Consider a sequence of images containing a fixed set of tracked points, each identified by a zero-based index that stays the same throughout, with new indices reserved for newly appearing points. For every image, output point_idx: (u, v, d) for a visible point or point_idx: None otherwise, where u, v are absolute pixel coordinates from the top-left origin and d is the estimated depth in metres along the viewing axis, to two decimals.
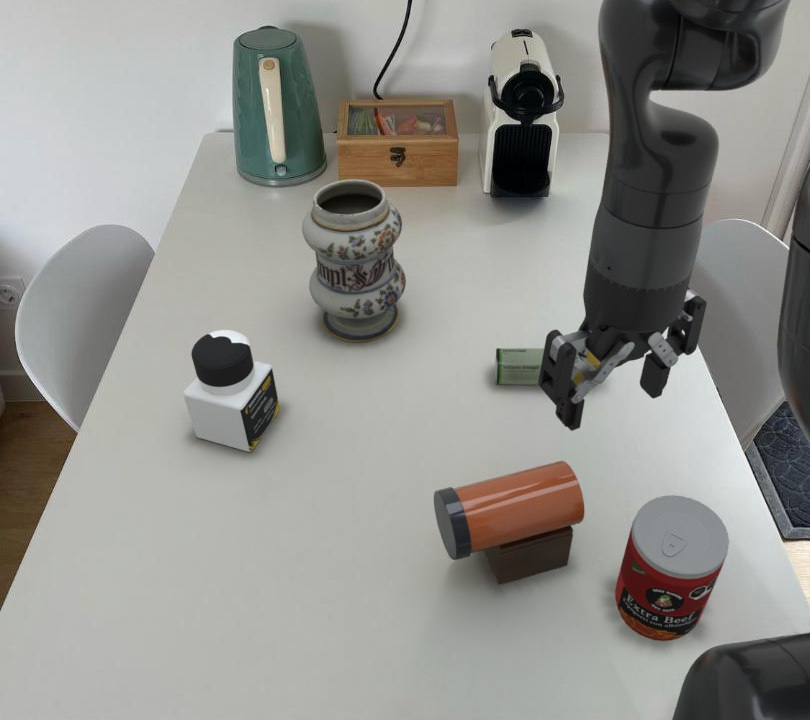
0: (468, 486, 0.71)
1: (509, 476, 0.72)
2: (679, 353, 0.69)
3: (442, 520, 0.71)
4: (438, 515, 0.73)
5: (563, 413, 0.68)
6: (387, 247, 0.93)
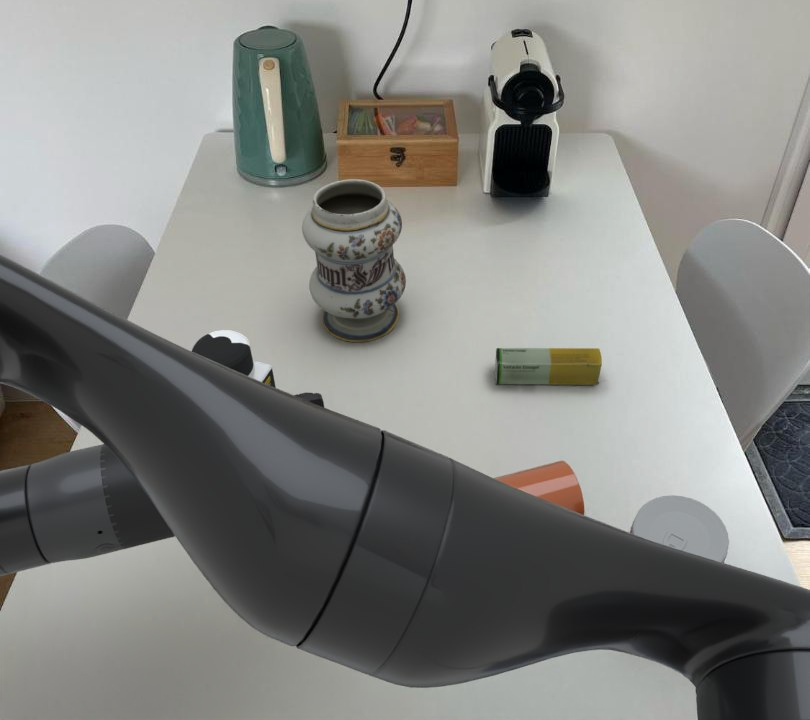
0: None
1: (509, 476, 0.72)
2: None
3: None
4: None
5: None
6: (387, 247, 0.93)
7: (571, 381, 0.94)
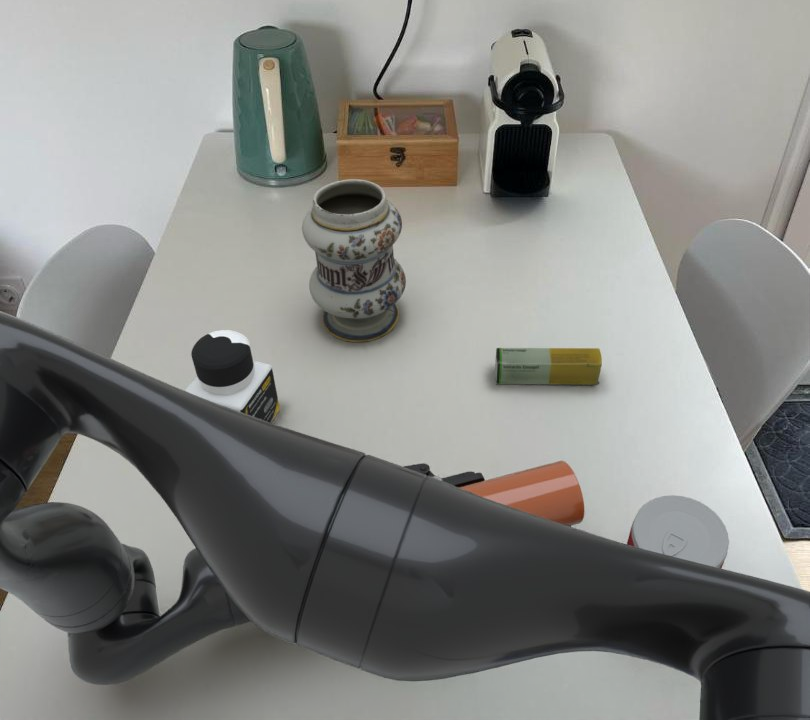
0: (468, 486, 0.71)
1: (509, 476, 0.72)
2: (431, 475, 0.74)
3: None
4: None
5: None
6: (387, 247, 0.93)
7: (571, 381, 0.94)
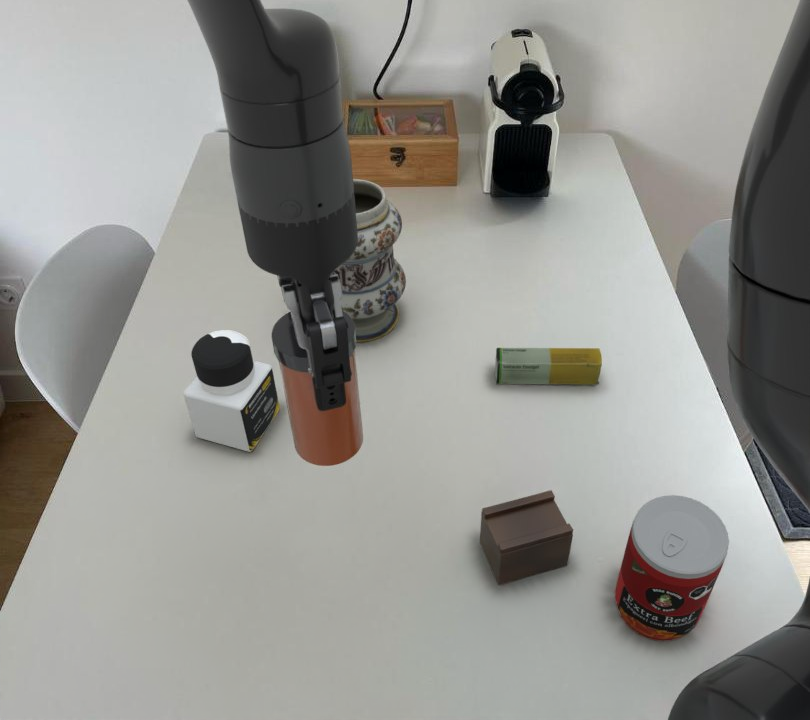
0: None
1: None
2: None
3: None
4: None
5: (337, 394, 0.59)
6: (387, 247, 0.93)
7: (571, 381, 0.94)
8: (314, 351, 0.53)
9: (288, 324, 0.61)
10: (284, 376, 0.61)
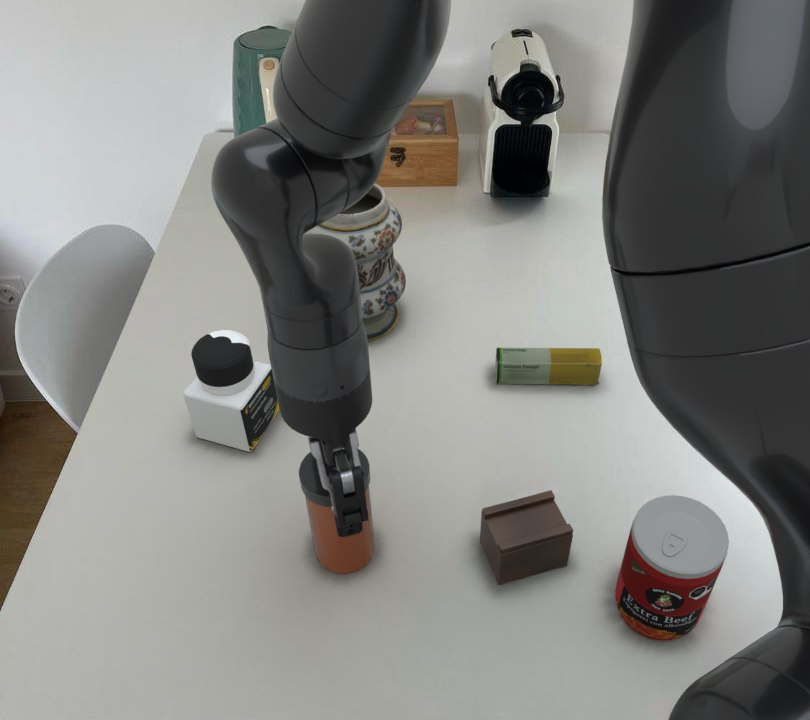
0: None
1: None
2: None
3: None
4: None
5: (355, 525, 0.68)
6: (387, 247, 0.93)
7: (571, 381, 0.94)
8: (336, 496, 0.63)
9: (313, 462, 0.72)
10: (309, 506, 0.72)
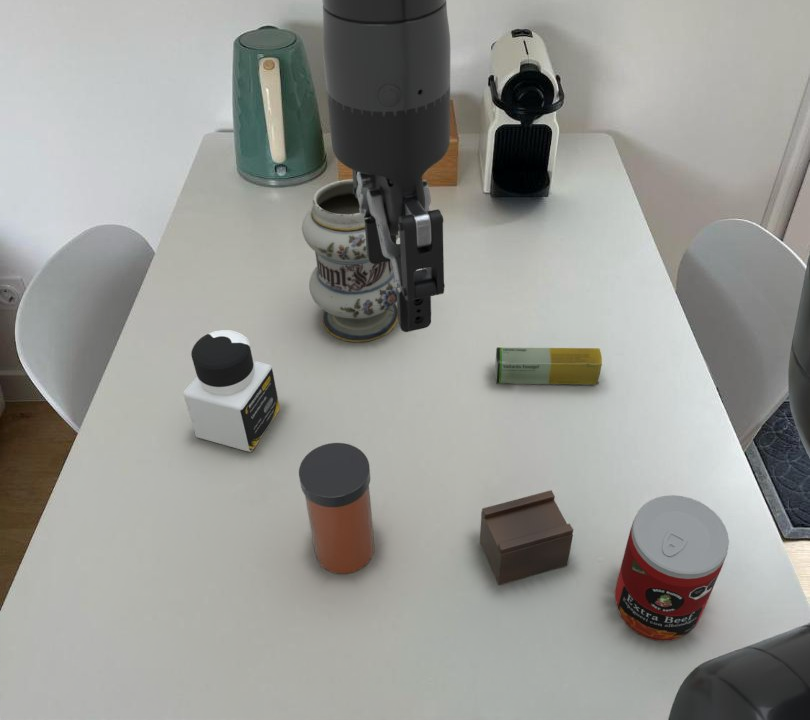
0: None
1: None
2: None
3: (333, 464, 0.71)
4: (322, 457, 0.72)
5: (424, 311, 0.55)
6: None
7: (571, 381, 0.94)
8: (407, 247, 0.49)
9: (313, 462, 0.72)
10: (309, 506, 0.72)
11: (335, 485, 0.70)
